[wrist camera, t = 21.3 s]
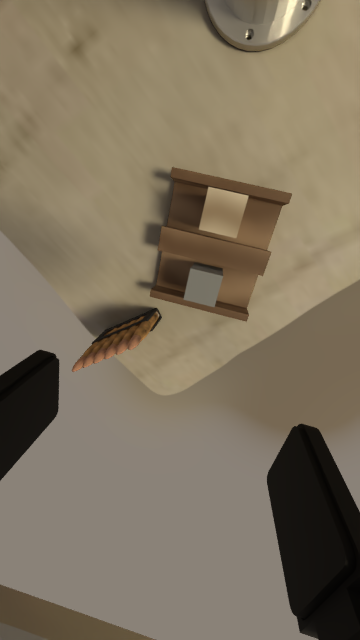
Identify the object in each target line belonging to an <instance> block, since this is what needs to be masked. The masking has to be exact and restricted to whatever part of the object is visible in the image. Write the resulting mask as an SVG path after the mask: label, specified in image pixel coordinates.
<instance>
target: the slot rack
mask: <svg viewBox="0 0 360 640" xmlns="http://www.w3.org/2000/svg"><path fill="white" fill-rule="evenodd" d="M170 177H171V178H172V179H173V180H174V181H175V184H174V189H173V195H172V200H171V206H170V211H169V217H168V222H167V226H162V228H161V234H160V240H159V246H158V250H159V251H162V256H161V261H160V267H159V272H158V278H157V283H156V286H154V287H153V288H152V289H151V292H150V297H154V298H158V299H162V300H165V301H169V302H173V303H177V304H181V305H185V306H189V307H192V308H196V309H200V310H204V311H208V312H212V313H216V314H219V315H223V316H227V317H231V318H235V319H239V320H242V321H246V322H247V319H248V316H249V314H248V311H247V306H248V303H249V300H250V297H251V294H252V291H253V288H254V286H255V283H256V280H257V277H258V275H261V276H263V274H264V271H265V269H266V266H267V263H268V260H269V257H270V255H271V252H270V251H268V250H267V248H268V246H269V243H270V240H271V237H272V234H273V231H274V228H275V225H276V223H277V220H278V217H279V214H280V211H281V208H282V206H283V205H286V204H289V202H290V199H291V196H292V194H291V193H287V192H282V191H278V190H273V189H269V188H264V187H260V186H255V185H251V184H246V183H242V182H237V181H232V180H228V179H223V178H219V177H214V176H210V175H205V174H201V173H196V172H192V171H187V170H183V169H178V168H174V167H172V171H171V176H170ZM208 187H212V188H217V189H221V190H226V191H230V192H234V193H239V194H243V195H248V196H249V197H248V200H247V203H246V207H245V210H244V214H243V217H242V220H241V224H240V227H239V231H238V234H237V238H233V237H229V236H224V235H220V234H216V233H212V232H207V231H203V230H199V226H200V222H201V217H202V213H203V209H204V204H205V200H206V196H207V191H208ZM195 262H198V263H202V264H207V265H211V266H215V267H219V268H223V279H222V282H221V286H220V289H219V293H218V296H217V300H216V304H215V307H211V306H207V305H203V304H199V303H195V302H191V301H187V300H183V299H184V295H185V290H186V286H187V282H188V277H189V273H190V268H191V267H192V266H193V264H194V263H195Z"/></svg>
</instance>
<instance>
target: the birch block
mask: <svg viewBox="0 0 360 640" xmlns="http://www.w3.org/2000/svg"><path fill="white" fill-rule="evenodd" d="M248 197H249V196H248V195H243V194H239V193H234V192H230V191H226V190H221V189H217V188H212V187H208V191H207V196H206V200H205V204H204V209H203V213H202V217H201V222H200V226H199V230H203V231H207V232H212V233H216V234H220V235H224V236H229V237H233V238H237V234H238V231H239V227H240V224H241V220H242V217H243V214H244V210H245V207H246V203H247V200H248Z"/></svg>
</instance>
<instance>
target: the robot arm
mask: <svg viewBox="0 0 360 640" xmlns="http://www.w3.org/2000/svg"><path fill="white" fill-rule="evenodd" d="M319 2H320V0H205V4H206V8H207V12H208V14H209V16H210V19H211V21H212V23H213V25H214V27H215V28H216V30H217V31H218V33H219V34H220V35H221V36H222V37H223V38H224V39H225V40H226V41H227V42H228V43H230V44H231V45H233V46H235V47H237V48H239V49H243V50H247V51H262V50H266V49H270V48H273V47H275V46H277V45H279V44H281V43H283V42H285V41H286V40H287V39H289V38H290V37H291V36H293V35H294V34H295V33H296V32H297V31H298V30H299V29H300V28H301V27H302V26H303V25H304V24H305V23H306V22H307V20H308V19H309V18H310V16H311V15H312V13H313V12H314V11H315V9H316V8H317V6H318V4H319ZM303 9H305V10H306V11H304V10H303ZM247 38H250V39H251V40H247ZM58 400H59V359H57V358H56V355H55V354H54V353H50V352H47V351H43V350H38V351H36V352H35V353H33V354H32V355H30V356H29V357H28V358H26V359H25V360H23V361H21V362H20V363H18V364H17V365H15V366H14V367H12V368H11V369H9V370H8V371H7V372H5V373H4V374H2V375H1V376H0V480H1V479H2V478H3V477H4V476H5V475H6V473H7V472H8V471H9V470H10V469H11V468H12V467H13V465H14V464H15V463H16V462H17V461H18V460H19V459H20V457H21V456H22V455H23V454H24V453H25V452H26V451H27V449H28V448H29V447H30V446H31V445H32V444H33V442H34V441H35V440H36V439H37V438H38V437H39V436H40V434H41V433H42V432H43V431H44V430H45V429H46V428H47V426H48V425H49V424H50V423H51V422H52V420H54V418H55V417H56V415H57V412H58ZM267 485H268V490H269V496H270V501H271V507H272V512H273V517H274V523H275V528H276V533H277V539H278V544H279V550H280V555H281V561H282V566H283V571H284V577H285V582H286V587H287V592H288V598H289V603H290V607H291V610H292V613H293V614H294V615H295V616H297V619H298V625H299V630H300V633H302V634H305V635H308V636H311V637H315V638H317V639H319V640H360V512H359V510H358V508H357V506H356V504H355V502H354V500H353V498H352V496H351V493H350V492H349V489H348V488H347V485H346V483H345V481H344V479H343V477H342V475H341V473H340V471H339V469H338V467H337V465H336V463H335V461H334V459H333V457H332V455H331V453H330V451H329V449H328V447H327V445H326V443H325V441H324V439H323V437H322V435H321V433H320V431H319V430H318V429H317V428H315V427H311V426H308V425H304V424H299V425H298V426H297V427H296V426H294V427H293V428H292V430H291V431H290V434H289V435H288V437H287V439H286V441H285V443H284V444H283V446H282V448H281V450H280V452H279V454H278V455H277V457H276V459H275V461H274V463H273V464H272V466H271V468H270V470H269V472H268V475H267ZM0 640H155V639H152V638H149V637H147V636H144V635H141V634H138V633H135V632H133V631H130V630H127V629H124V628H121V627H119V626H116V625H113V624H110V623H107V622H105V621H102V620H99V619H96V618H93V617H90V616H88V615H85V614H82V613H79V612H77V611H74V610H71V609H68V608H65V607H62V606H60V605H57V604H54V603H51V602H48V601H45V600H43V599H39V598H37V597H34V596H31V595H28V594H26V593H23V592H20V591H17V590H14V589H11V588H8V587H6V586H3V585H0Z"/></svg>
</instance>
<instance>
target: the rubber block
mask: <svg viewBox="0 0 360 640" xmlns="http://www.w3.org/2000/svg"><path fill="white" fill-rule="evenodd" d="M222 279H223V268H219V267H215V266H211V265H207V264H202V263H198V262H195V263H194V264H193V266H192V267H191V268H190V273H189V277H188V282H187V286H186V290H185V295H184V299H183V300H187V301H191V302H195V303H199V304H203V305H207V306H211V307H215V304H216V300H217V296H218V293H219V289H220V286H221V282H222Z"/></svg>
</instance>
